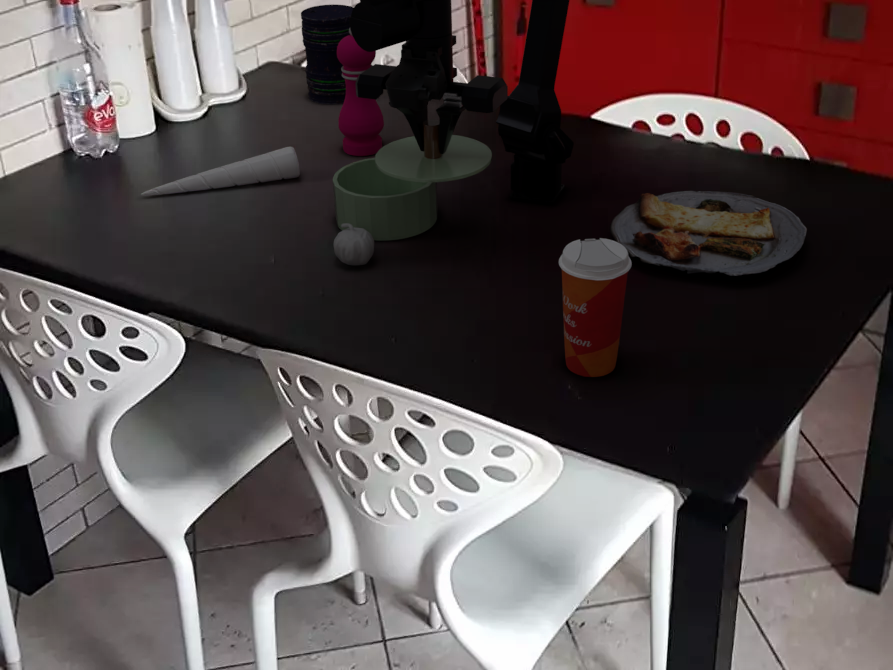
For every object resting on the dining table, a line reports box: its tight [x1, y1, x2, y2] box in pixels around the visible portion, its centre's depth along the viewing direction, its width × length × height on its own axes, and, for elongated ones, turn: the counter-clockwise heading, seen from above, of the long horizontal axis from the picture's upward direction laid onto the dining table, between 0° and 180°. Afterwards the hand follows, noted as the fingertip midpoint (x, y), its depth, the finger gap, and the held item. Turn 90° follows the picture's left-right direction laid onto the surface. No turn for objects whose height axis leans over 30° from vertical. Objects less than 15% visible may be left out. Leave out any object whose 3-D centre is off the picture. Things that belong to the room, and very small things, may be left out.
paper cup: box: [558, 237, 633, 378], centre depth 126 cm, size 8×8×14 cm
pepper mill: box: [337, 28, 385, 157], centre depth 182 cm, size 7×7×20 cm
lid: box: [374, 118, 493, 183], centre depth 150 cm, size 15×15×6 cm
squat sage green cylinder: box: [332, 157, 439, 242], centre depth 162 cm, size 14×14×6 cm
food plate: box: [609, 190, 808, 277], centre depth 154 cm, size 25×23×4 cm
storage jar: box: [300, 4, 354, 105], centre depth 206 cm, size 10×10×15 cm
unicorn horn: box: [140, 145, 301, 196], centre depth 175 cm, size 5×24×5 cm, turn 103°
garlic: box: [333, 223, 375, 266], centre depth 152 cm, size 6×5×5 cm
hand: (433, 151), depth 151 cm, fingers closed on lid, 2 cm apart
